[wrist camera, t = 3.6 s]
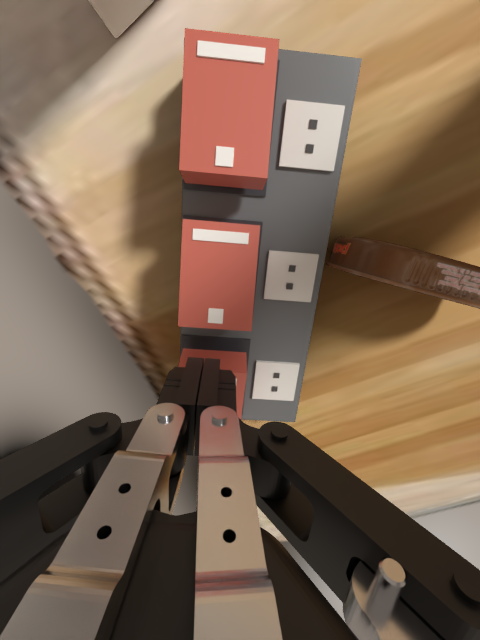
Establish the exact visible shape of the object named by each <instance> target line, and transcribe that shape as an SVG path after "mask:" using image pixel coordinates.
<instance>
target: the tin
mask: <svg viewBox="0 0 480 640" xmlns="http://www.w3.org/2000/svg"><path fill="white" fill-rule="evenodd" d="M326 265H328V266H330V267H333V268H336V269H340V270H342V271H346V272H349V273H352V274H355V275H359V276H362V277H366V278H369V279H373V280H376V281H380V282H383V283H387V284H391V285H394V286H397V287H401V288H405V289H408V290H412V291H416V292H419V293H423V294H427V295H431V296H434V297H438V298H442V299H445V300H450V301H453V302H457V303H461V304H464V305H468V306H472V307H475V308H479V309H480V267H478V266H475V265H471V264H468V263H464V262H461V261H457V260H453V259H450V258H446V257H442V256H439V255H435V254H431V253H427V252H424V251H420V250H417V249H413V248H409V247H405V246H401V245H396V244H392V243H388V242H383V241H378V240H373V239H367V238H360V237H354V238H345V237H343V236H340V237H338V238H337V239H336V242H335V244H334V247H333V250H332V253H331V256H330V258H329V261H328V262H327V263H326Z"/></svg>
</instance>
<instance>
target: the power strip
mask: <svg viewBox="0 0 480 640" xmlns="http://www.w3.org/2000/svg"><path fill="white" fill-rule="evenodd" d="M184 43H185V38H184ZM361 60H362V59H361V58H352V57H343V56H335V55H326V54H317V53H309V52H300V51H291V50H282V49H278V61H277V73H276V85H275V96H274V108H273V120H272V131H271V143H270V155H269V166H268V178H267V181H266V183H265V186H264V188H263V190H257V189H246V188H235V187H224V186H213V185H202V184H191V183H185V181H184V179H183V180H182V223H183V219H190V220H202V221H214V222H225V223H237V224H249V225H260V236H259V248H258V259H257V271H256V283H255V295H254V307H253V319H252V331H238V330H224V329H209V328H194V327H181V346H180V357H181V354H182V350H183V348H186V349H201V350H216V351H232V352H246V357H247V378H246V385H245V393H244V400H243V408H242V416H241V419H247V420H266V421H284V422H295V419H296V414H297V409H298V403H299V398H300V392H301V387H302V381H303V376H304V370H305V365H306V359H307V354H308V349H309V343H310V338H311V332H312V327H313V321H314V316H315V310H316V305H317V300H318V294H319V289H320V283H321V278H322V272H323V267H324V261H325V256H326V250H327V245H328V240H329V234H330V229H331V223H332V218H333V212H334V207H335V201H336V196H337V190H338V185H339V180H340V174H341V169H342V163H343V158H344V152H345V147H346V141H347V136H348V131H349V125H350V120H351V114H352V109H353V103H354V98H355V92H356V87H357V81H358V76H359V71H360V65H361Z"/></svg>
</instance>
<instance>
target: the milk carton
mask: <svg viewBox="0 0 480 640" xmlns="http://www.w3.org/2000/svg"><path fill="white" fill-rule="evenodd" d="M88 1H89V2H90V4H91V5H92V6H93V8H94V9H95V11H96V12H97V14H98V15H99V16H100V18H101V19H102V21H103V22H104V23H105V25H106V26H107V28H108V29H109V31H110V32H111V33H112V35H113V36H114V37H115V38H116V39H117V38H118V37H119V36H120V35H121V34H122V33H123V32H124V31H125V30H126V29H127V28H128V27H129V26H130V25H131V24H132V23H133V22H134V21H135V20H136V19H137V18H138V17H139V16H140V15H141V14H142V13H143V12H144V11H145V10H146V8H147V7H148V6H149V5H150V4H151V3H152V2H153V1H154V0H88Z"/></svg>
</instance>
